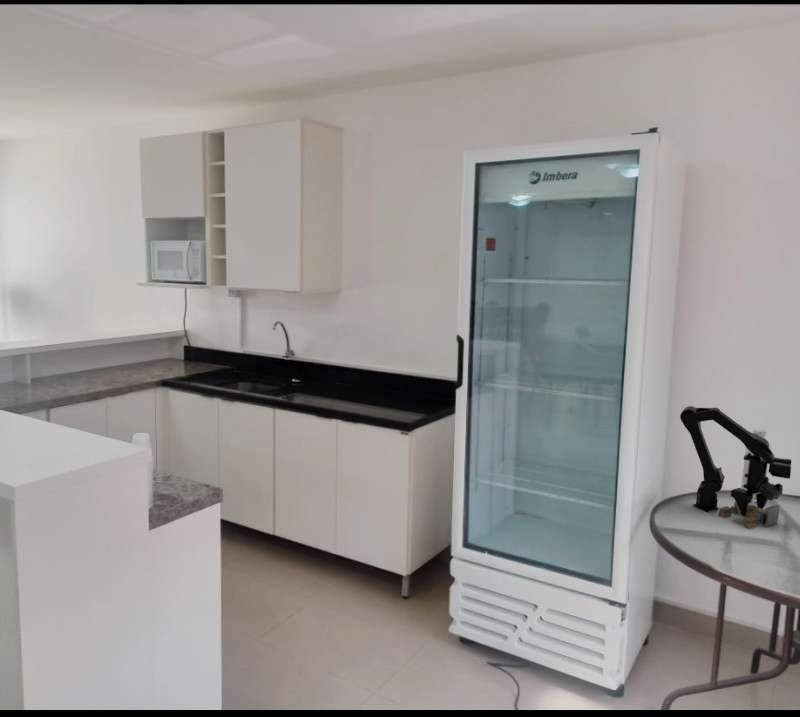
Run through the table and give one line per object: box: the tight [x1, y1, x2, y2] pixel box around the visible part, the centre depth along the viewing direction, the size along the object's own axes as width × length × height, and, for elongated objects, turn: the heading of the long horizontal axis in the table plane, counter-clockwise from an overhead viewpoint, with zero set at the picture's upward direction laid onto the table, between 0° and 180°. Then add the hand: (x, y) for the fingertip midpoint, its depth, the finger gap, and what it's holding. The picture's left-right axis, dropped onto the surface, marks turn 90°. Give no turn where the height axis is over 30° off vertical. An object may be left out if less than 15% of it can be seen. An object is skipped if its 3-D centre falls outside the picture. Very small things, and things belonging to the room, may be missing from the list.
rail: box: [733, 501, 766, 523], centre depth 233 cm, size 12×4×4 cm, turn 27°
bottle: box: [740, 428, 771, 502], centre depth 248 cm, size 8×8×28 cm
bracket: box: [730, 504, 780, 528], centre depth 233 cm, size 15×7×7 cm, turn 27°
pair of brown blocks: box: [718, 506, 758, 530], centre depth 230 cm, size 12×4×3 cm, turn 27°
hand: (751, 513), depth 233 cm, fingers open, 9 cm apart
